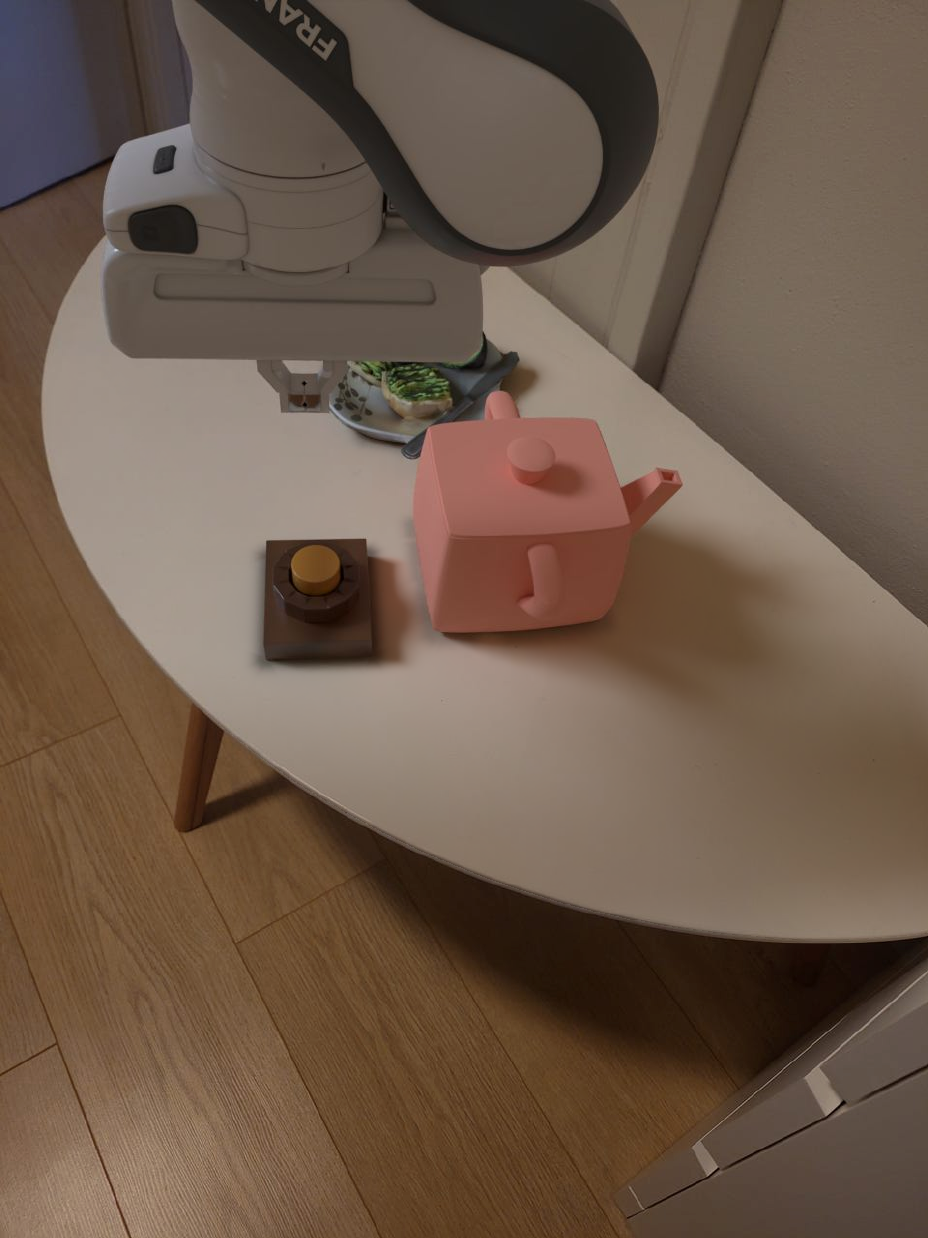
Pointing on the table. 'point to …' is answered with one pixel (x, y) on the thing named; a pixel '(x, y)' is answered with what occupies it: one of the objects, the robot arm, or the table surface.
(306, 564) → the button
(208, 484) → the table surface
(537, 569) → the teapot
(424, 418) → the plate of avocado toast
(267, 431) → the table surface
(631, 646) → the table surface
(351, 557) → the button block
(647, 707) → the table surface
